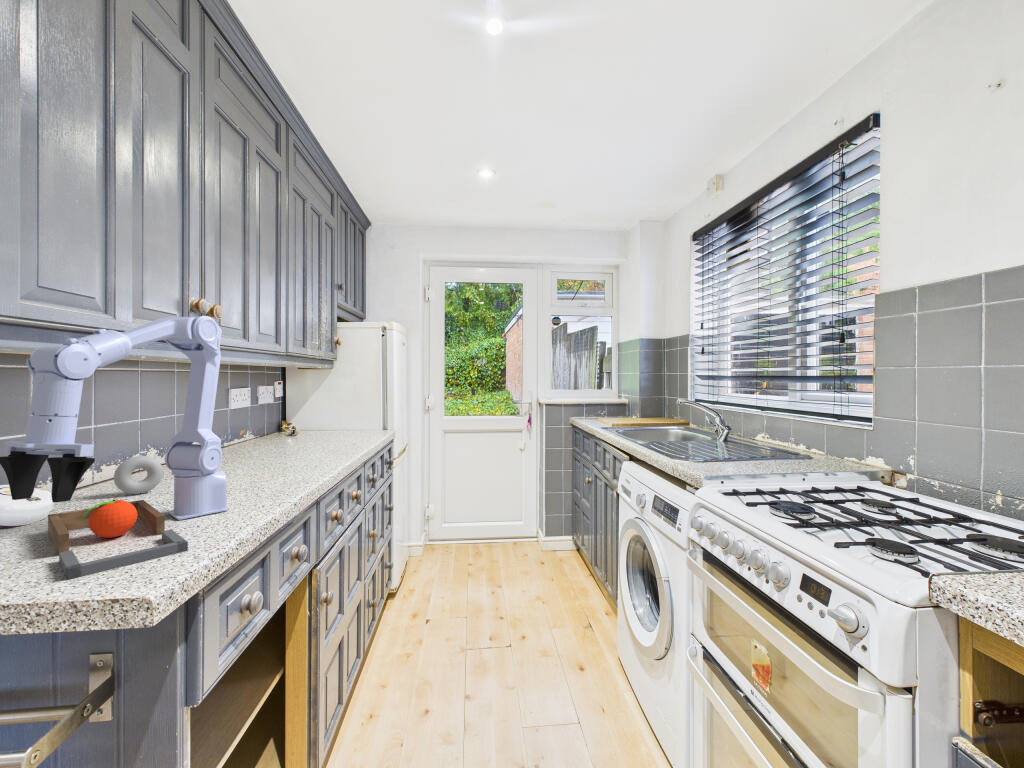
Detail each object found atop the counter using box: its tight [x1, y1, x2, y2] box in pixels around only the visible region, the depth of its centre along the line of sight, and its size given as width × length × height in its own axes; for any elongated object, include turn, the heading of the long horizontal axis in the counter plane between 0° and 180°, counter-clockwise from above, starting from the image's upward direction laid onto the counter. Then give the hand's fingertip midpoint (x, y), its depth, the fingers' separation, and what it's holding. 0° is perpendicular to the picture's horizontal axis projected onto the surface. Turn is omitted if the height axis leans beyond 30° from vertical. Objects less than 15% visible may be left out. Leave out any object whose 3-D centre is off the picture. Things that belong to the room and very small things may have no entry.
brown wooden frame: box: [47, 499, 166, 555], centre depth 86 cm, size 14×17×4 cm
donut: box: [113, 455, 164, 495], centre depth 115 cm, size 10×4×10 cm, turn 138°
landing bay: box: [58, 529, 189, 580], centre depth 75 cm, size 15×10×2 cm, turn 141°
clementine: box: [82, 499, 138, 539], centre depth 83 cm, size 8×7×7 cm
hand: (41, 500), depth 71 cm, fingers open, 7 cm apart
